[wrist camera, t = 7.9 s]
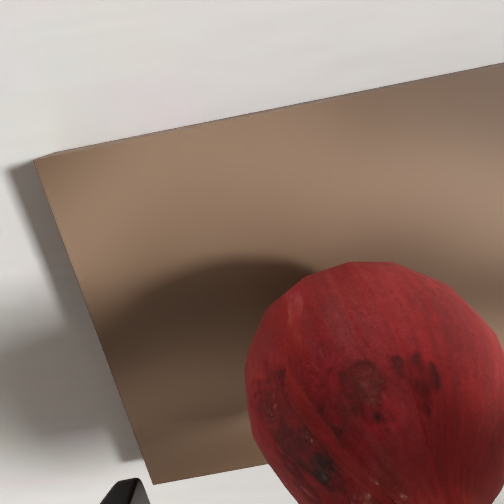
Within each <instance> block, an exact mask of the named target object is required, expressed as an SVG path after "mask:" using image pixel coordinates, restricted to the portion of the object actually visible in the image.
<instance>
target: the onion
mask: <svg viewBox="0 0 504 504" xmlns="http://www.w3.org/2000/svg"><path fill="white" fill-rule="evenodd" d="M244 375H245V385H246V396H247V406H248V414H249V419H250V425H251V430H252V436H253V438H254V440H255V441H256V443H257V445H258V447H259V449H260V450H261V452H262V454H263V456H264V458H265V459H266V461H267V462H268V463H269V465H270V466H271V468H272V469H273V470H274V472H275V473H276V475H277V476H278V477H279V479H280V480H281V482H282V483H283V484H284V486H285V487H286V488H287V490H288V491H289V492H290V493H291V495H292V496H293V497H294V498H295V500H296V501H297V502H298V503H299V504H492V503H493V501H494V500H495V498H496V497H497V496H498V494H499V493H500V491H501V490H502V487H503V485H504V351H503V349H502V347H501V344H500V342H499V340H498V337H497V335H496V334H495V332H494V331H493V330H492V329H491V328H490V327H489V326H488V324H487V323H486V322H485V321H484V320H483V319H482V318H481V317H480V315H479V314H478V313H477V312H476V311H475V310H474V309H472V308H471V307H470V306H469V305H468V304H467V303H466V302H465V301H464V300H463V299H462V298H461V297H460V296H459V295H458V294H457V293H456V292H455V291H454V290H453V289H452V288H451V287H450V286H449V285H447V284H445V283H443V282H440V281H438V280H436V279H434V278H432V277H429V276H427V275H424V274H422V273H419V272H417V271H414V270H412V269H409V268H407V267H404V266H402V265H399V264H397V263H394V262H347V263H344V264H341V265H338V266H335V267H332V268H329V269H326V270H323V271H320V272H317V273H314V274H311V275H308V276H306V277H304V278H303V279H302V280H300V281H299V282H298V283H297V284H295V285H294V286H293V287H292V288H291V289H289V290H288V291H287V292H286V293H284V294H283V295H282V296H281V297H280V298H278V299H277V300H276V301H275V302H273V303H272V304H271V305H270V306H269V307H267V308H266V310H265V312H264V315H263V317H262V319H261V321H260V323H259V326H258V328H257V330H256V332H255V334H254V337H253V339H252V341H251V343H250V345H249V348H248V352H247V358H246V363H245V368H244Z"/></svg>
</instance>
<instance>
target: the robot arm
mask: <svg viewBox="0 0 504 504" xmlns="http://www.w3.org/2000/svg"><path fill="white" fill-rule="evenodd" d="M100 504H150V502H149V499H148V497H147V494H146V491H145V489H144V486H143V484H142V482H141V480H140V479H139V478H132V479H126V480H121V481H118V482H117V483H116V484H115V485H114V486H113V487H112V488H111V490H110V491H109V492H108V494H107V495H106V496H105V498H104V499H103V500H102V502H101V503H100Z"/></svg>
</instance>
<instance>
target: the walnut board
mask: <svg viewBox="0 0 504 504" xmlns="http://www.w3.org/2000/svg"><path fill="white" fill-rule="evenodd" d="M33 161H34V164H35V167H36V169H37V172H38V175H39V177H40V180H41V183H42V185H43V188H44V191H45V194H46V196H47V199H48V202H49V204H50V207H51V210H52V213H53V215H54V218H55V221H56V223H57V226H58V229H59V231H60V234H61V237H62V240H63V242H64V245H65V248H66V250H67V253H68V256H69V259H70V261H71V264H72V267H73V269H74V272H75V275H76V277H77V280H78V283H79V286H80V288H81V291H82V294H83V296H84V299H85V302H86V305H87V307H88V310H89V313H90V315H91V318H92V321H93V323H94V326H95V329H96V332H97V334H98V337H99V340H100V342H101V345H102V348H103V351H104V353H105V356H106V359H107V361H108V364H109V367H110V369H111V372H112V375H113V378H114V380H115V383H116V386H117V388H118V391H119V394H120V397H121V399H122V402H123V405H124V407H125V410H126V413H127V415H128V418H129V421H130V424H131V426H132V429H133V432H134V434H135V437H136V440H137V443H138V445H139V448H140V451H141V453H142V456H143V459H144V461H145V464H146V467H147V470H148V472H149V475H150V478H151V480H152V483H153V485H156V484H161V483H167V482H172V481H178V480H183V479H189V478H194V477H199V476H205V475H210V474H216V473H221V472H227V471H232V470H238V469H243V468H248V467H254V466H259V465H265V464H269V463H268V462H267V461H266V459H265V458H264V456H263V454H262V452H261V450H260V449H259V447H258V445H257V443H256V441H255V440H254V438H253V436H252V430H251V425H250V419H249V414H248V406H247V396H246V385H245V375H244V368H245V363H246V358H247V352H248V348H249V345H250V343H251V341H252V339H253V337H254V334H255V332H256V330H257V328H258V326H259V323H260V321H261V319H262V317H263V315H264V312H265V310H266V308H267V307H269V306H270V305H271V304H272V303H273V302H275V301H276V300H277V299H278V298H280V297H281V296H282V295H283V294H284V293H286V292H287V291H288V290H289V289H291V288H292V287H293V286H294V285H295V284H297V283H298V282H299V281H300V280H302V279H303V278H304V277H306V276H308V275H311V274H314V273H317V272H320V271H323V270H326V269H329V268H332V267H335V266H338V265H341V264H344V263H347V262H394V263H397V264H399V265H402V266H404V267H407V268H409V269H412V270H414V271H417V272H419V273H422V274H424V275H427V276H429V277H432V278H434V279H436V280H438V281H440V282H443V283H445V284H447V285H449V286H450V287H451V288H452V289H453V290H454V291H455V292H456V293H457V294H458V295H459V296H460V297H461V298H462V299H463V300H464V301H465V302H466V303H467V304H468V305H469V306H470V307H471V308H472V309H474V310H475V311H476V312H477V313H478V314H479V315H480V317H481V318H482V319H483V320H484V321H485V322H486V323H487V324H488V326H489V327H490V328H491V329H492V330H493V331H494V332H495V334H496V335H497V337H498V340H499V342H500V344H501V347H502V349H503V351H504V63H499V64H494V65H489V66H484V67H479V68H474V69H469V70H464V71H459V72H454V73H449V74H444V75H439V76H434V77H429V78H424V79H419V80H414V81H409V82H404V83H399V84H394V85H389V86H384V87H379V88H374V89H369V90H364V91H359V92H354V93H349V94H344V95H339V96H334V97H329V98H324V99H319V100H314V101H309V102H304V103H299V104H294V105H289V106H284V107H279V108H274V109H269V110H264V111H259V112H254V113H249V114H244V115H239V116H234V117H229V118H224V119H219V120H214V121H209V122H204V123H199V124H194V125H189V126H184V127H179V128H174V129H169V130H164V131H159V132H154V133H149V134H144V135H139V136H134V137H129V138H124V139H119V140H114V141H109V142H104V143H99V144H94V145H89V146H84V147H79V148H74V149H69V150H64V151H59V152H54V153H52V154H49V155H46V156H43V157H41V158H38V159H35V160H33Z"/></svg>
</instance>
